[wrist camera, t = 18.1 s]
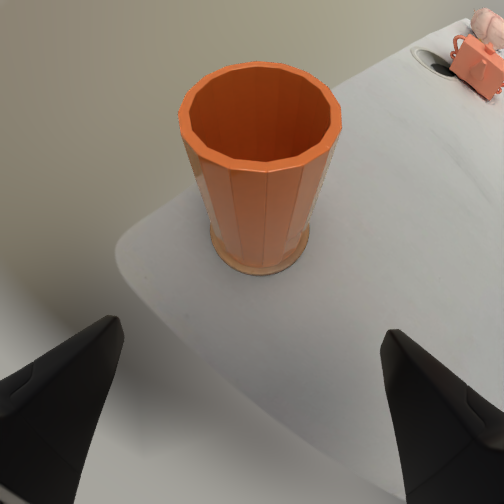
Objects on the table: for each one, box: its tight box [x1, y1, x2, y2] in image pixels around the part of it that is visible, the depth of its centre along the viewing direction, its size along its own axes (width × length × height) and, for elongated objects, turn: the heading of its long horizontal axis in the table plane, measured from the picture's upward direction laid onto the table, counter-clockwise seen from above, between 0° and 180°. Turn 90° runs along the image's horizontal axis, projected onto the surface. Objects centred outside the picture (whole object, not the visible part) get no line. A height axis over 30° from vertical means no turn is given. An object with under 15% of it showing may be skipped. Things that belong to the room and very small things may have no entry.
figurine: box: [471, 8, 504, 51], centre depth 34 cm, size 11×12×18 cm
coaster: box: [210, 223, 309, 276], centre depth 24 cm, size 8×8×1 cm
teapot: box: [449, 34, 504, 101], centre depth 29 cm, size 12×15×8 cm
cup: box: [178, 61, 342, 268], centre depth 18 cm, size 7×7×13 cm
